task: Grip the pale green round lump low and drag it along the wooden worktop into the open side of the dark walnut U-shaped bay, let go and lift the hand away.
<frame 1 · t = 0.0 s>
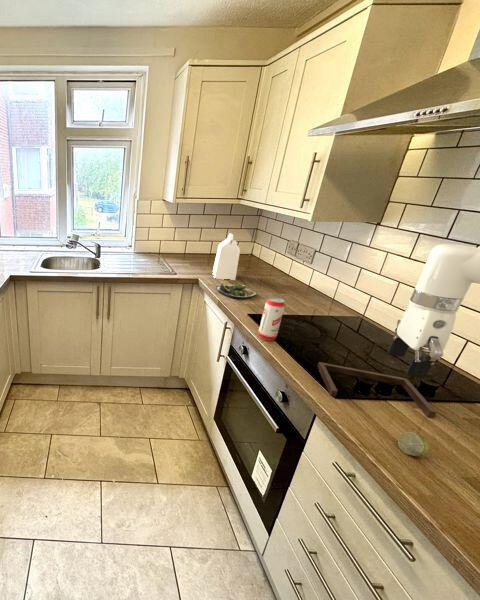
hand: (404, 365, 77), 16 cm above the worktop, tool pointing down, fingers open, 9 cm apart
salad plate: (234, 293, 167), on the worktop
milk: (223, 276, 194), on the worktop
beer can: (266, 338, 123), on the worktop
bay: (368, 390, 93), on the worktop
pale green round lump: (408, 452, 73), on the worktop
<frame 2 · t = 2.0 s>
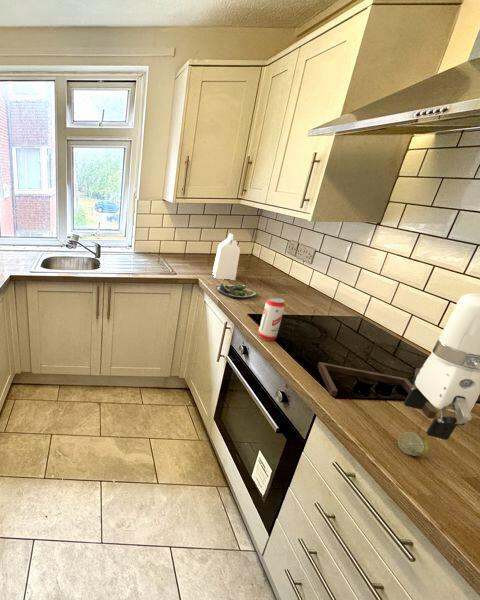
hand: (423, 420, 69), 9 cm above the worktop, tool pointing down, fingers open, 9 cm apart
nothing on the worktop moved.
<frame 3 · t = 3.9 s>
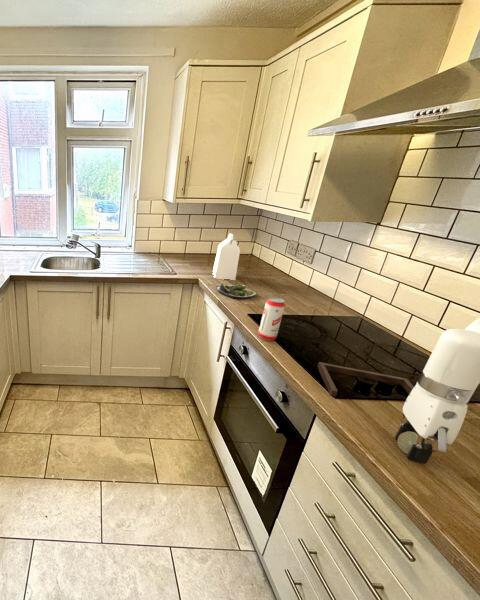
hand: (409, 450, 73), 0 cm above the worktop, tool pointing down, fingers closed on pale green round lump, 5 cm apart
pale green round lump: (408, 451, 73), on the worktop, touching gripper
everything else where it was.
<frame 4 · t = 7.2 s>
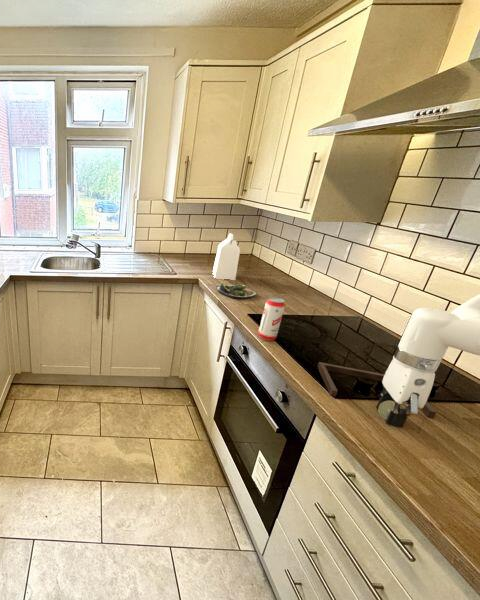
hand: (388, 416, 82), 0 cm above the worktop, tool pointing down, fingers closed on pale green round lump, 5 cm apart
pale green round lump: (387, 418, 83), on the worktop, touching gripper
everything else where it was.
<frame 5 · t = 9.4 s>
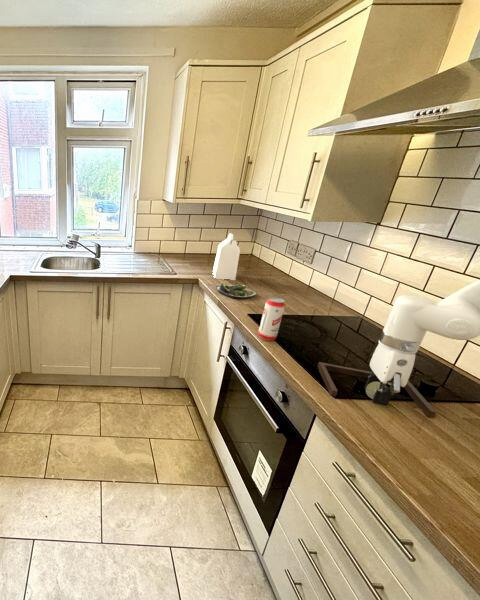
hand: (375, 396, 90), 0 cm above the worktop, tool pointing down, fingers closed on pale green round lump, 5 cm apart
pale green round lump: (374, 398, 90), on the worktop, touching gripper
everything else where it was.
when the fingers open (0 cm above the worktop, at t = 10.9 s): pale green round lump stays where it is, on the worktop.
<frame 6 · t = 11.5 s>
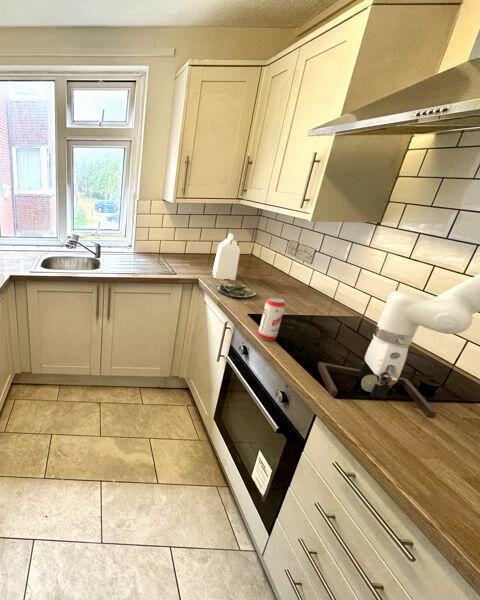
hand: (370, 386, 93), 1 cm above the worktop, tool pointing down, fingers open, 9 cm apart
pale green round lump: (369, 390, 93), on the worktop
everything else where it was.
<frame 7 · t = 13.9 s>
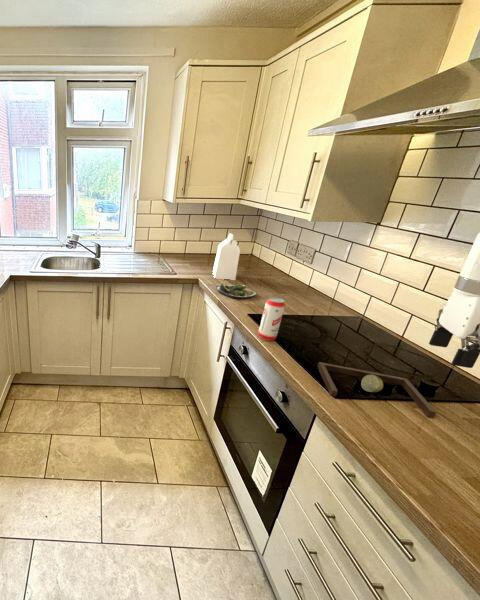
hand: (448, 355, 74), 20 cm above the worktop, tool pointing down, fingers open, 9 cm apart
nothing on the worktop moved.
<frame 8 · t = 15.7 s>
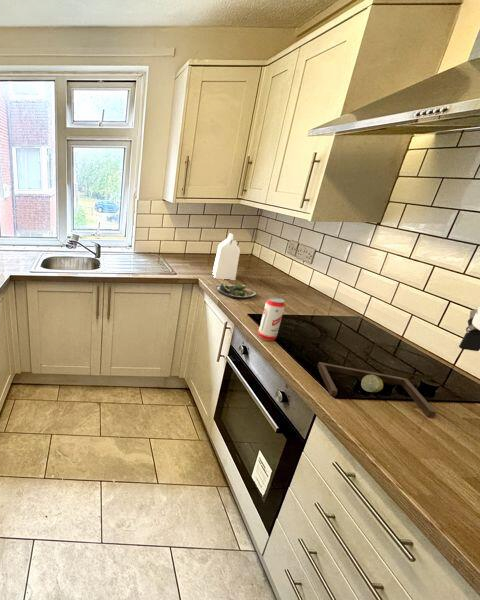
nothing on the worktop moved.
at the end: pale green round lump inside the target area on the bay (0.1 cm from its centre), point 0.0 cm above the bay's base; pale green round lump moved 24.1 cm from its start; the gripper is holding nothing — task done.
